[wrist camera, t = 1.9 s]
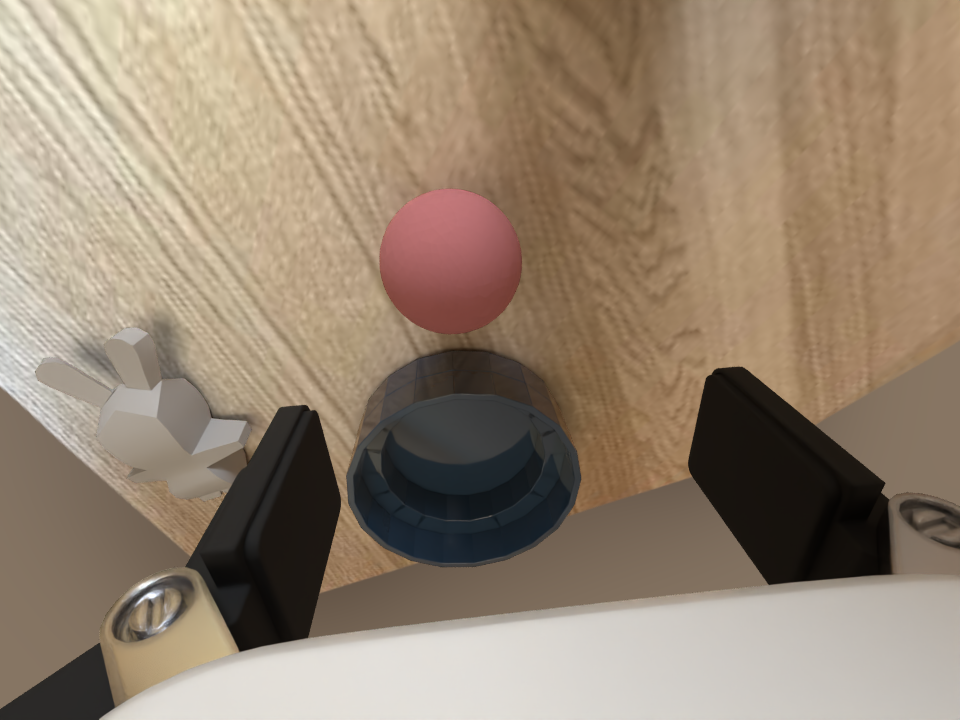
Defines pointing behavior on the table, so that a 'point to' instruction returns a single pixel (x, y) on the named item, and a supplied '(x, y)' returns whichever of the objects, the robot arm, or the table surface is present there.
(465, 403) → the dark grey round tub
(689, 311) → the table surface
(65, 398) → the table surface
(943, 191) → the table surface
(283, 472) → the robot arm
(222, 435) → the bunny figurine
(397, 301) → the light bulb
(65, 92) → the table surface
